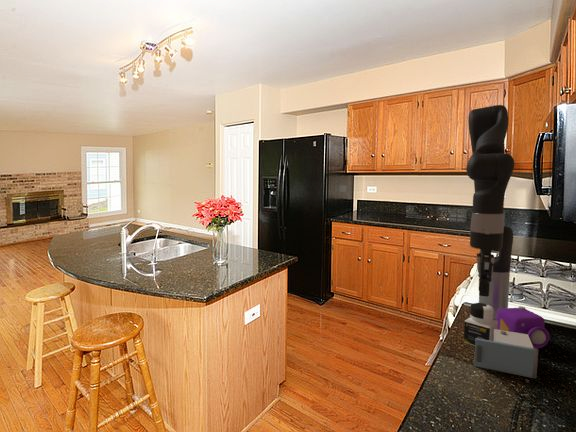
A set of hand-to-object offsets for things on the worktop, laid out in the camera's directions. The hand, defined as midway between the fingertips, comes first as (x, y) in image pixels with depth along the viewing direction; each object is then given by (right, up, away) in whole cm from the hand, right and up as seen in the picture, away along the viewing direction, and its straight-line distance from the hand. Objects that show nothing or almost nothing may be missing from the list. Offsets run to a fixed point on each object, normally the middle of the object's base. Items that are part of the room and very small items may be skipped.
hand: (483, 293), depth 92 cm
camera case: (+8, -19, +1) cm, 21 cm away
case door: (+3, -19, -4) cm, 20 cm away
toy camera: (+19, -18, +12) cm, 29 cm away
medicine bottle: (+6, -18, +13) cm, 23 cm away
